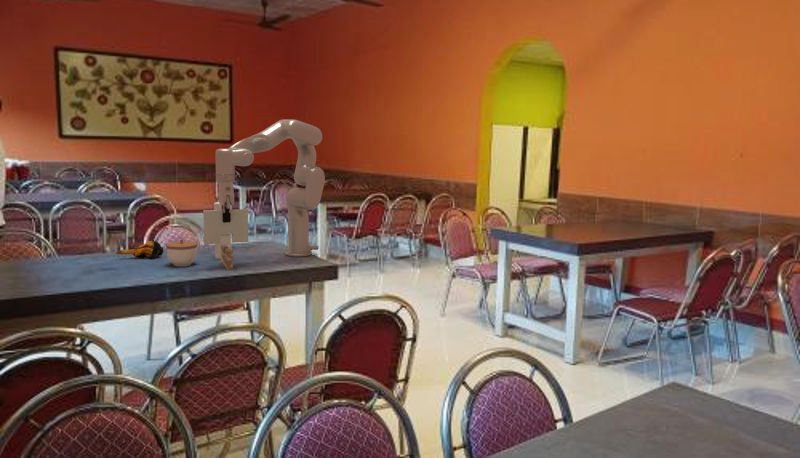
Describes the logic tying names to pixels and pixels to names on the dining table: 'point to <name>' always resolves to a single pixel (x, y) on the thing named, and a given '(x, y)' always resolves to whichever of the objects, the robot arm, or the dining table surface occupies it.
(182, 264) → the lidded bowl
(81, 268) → the dining table surface
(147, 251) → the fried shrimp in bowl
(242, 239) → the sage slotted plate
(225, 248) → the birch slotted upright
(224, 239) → the cylindrical container
